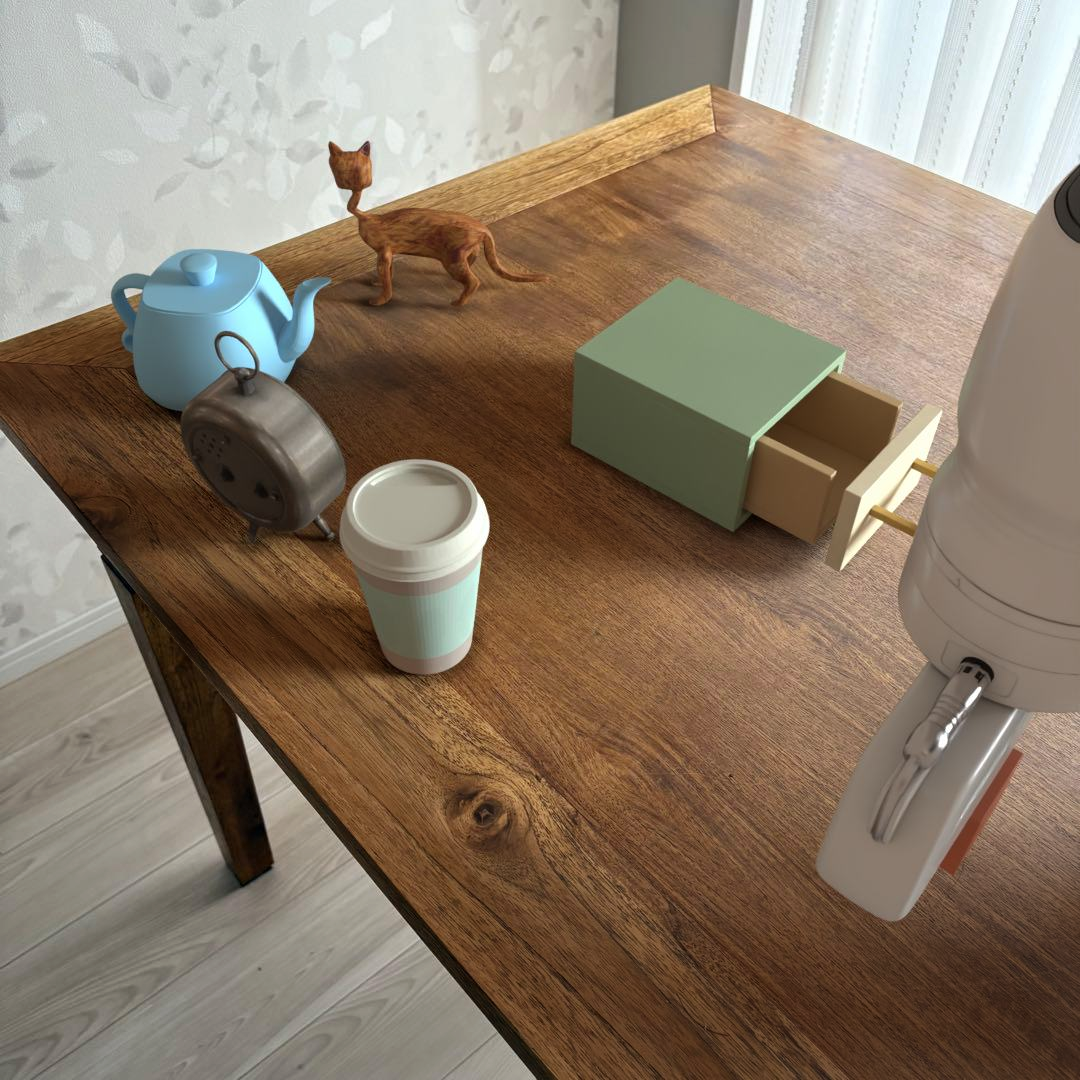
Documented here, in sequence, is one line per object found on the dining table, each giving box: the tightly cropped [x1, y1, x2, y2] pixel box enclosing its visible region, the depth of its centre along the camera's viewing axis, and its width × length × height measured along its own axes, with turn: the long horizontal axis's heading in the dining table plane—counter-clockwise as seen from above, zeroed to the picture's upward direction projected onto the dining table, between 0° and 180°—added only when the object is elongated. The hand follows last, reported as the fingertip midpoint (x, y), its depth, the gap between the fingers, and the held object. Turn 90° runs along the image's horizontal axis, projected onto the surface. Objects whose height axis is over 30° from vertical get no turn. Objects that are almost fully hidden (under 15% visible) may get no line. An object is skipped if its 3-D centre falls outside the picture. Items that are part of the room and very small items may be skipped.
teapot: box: [110, 248, 332, 412], centre depth 86 cm, size 13×11×18 cm
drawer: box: [743, 371, 943, 572], centre depth 76 cm, size 18×11×7 cm, turn 50°
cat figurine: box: [327, 140, 551, 307], centre depth 94 cm, size 18×7×14 cm, turn 93°
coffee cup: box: [339, 458, 491, 676], centre depth 66 cm, size 8×8×12 cm
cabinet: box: [570, 276, 848, 533], centre depth 81 cm, size 15×13×9 cm
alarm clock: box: [180, 331, 347, 544], centre depth 72 cm, size 11×5×16 cm, turn 58°
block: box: [938, 747, 1025, 876], centre depth 49 cm, size 4×4×4 cm
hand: (939, 793), depth 49 cm, fingers closed on block, 4 cm apart
